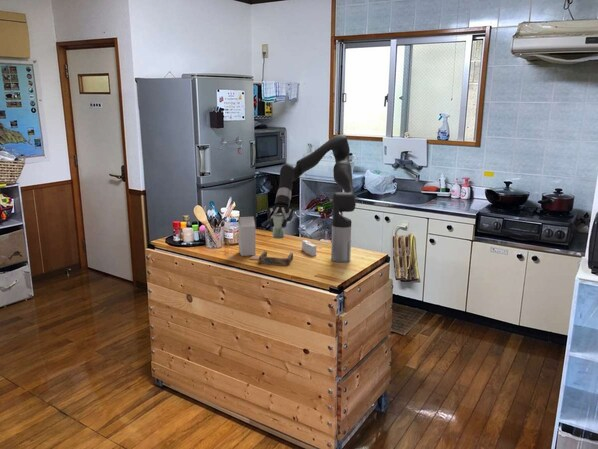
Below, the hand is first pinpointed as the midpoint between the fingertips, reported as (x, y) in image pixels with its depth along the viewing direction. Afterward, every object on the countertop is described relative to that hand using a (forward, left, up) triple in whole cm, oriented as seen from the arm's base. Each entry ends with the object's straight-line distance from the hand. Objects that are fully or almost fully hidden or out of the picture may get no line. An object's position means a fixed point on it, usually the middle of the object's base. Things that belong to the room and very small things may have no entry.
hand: (277, 226), depth 243 cm
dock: (-1, +8, -15) cm, 17 cm away
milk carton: (+16, 0, -15) cm, 22 cm away
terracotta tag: (+9, +6, -15) cm, 19 cm away
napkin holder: (-14, -11, -16) cm, 24 cm away
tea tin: (0, -2, -6) cm, 6 cm away
